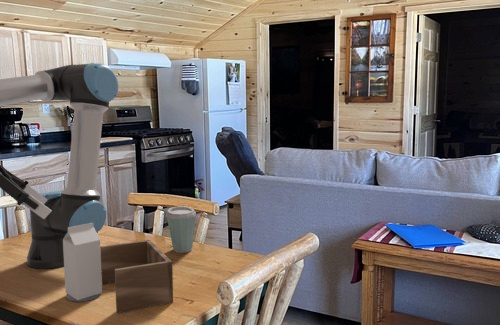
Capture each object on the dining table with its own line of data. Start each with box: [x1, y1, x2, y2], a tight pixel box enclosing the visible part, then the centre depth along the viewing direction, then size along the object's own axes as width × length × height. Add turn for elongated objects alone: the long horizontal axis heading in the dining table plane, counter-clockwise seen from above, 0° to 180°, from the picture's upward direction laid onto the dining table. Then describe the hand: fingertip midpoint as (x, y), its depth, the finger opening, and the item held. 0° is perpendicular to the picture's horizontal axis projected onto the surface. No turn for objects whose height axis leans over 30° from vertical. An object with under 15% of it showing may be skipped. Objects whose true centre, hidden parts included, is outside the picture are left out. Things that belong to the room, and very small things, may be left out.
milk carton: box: [63, 223, 103, 300], centre depth 127 cm, size 7×7×19 cm
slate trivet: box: [65, 293, 102, 303], centre depth 129 cm, size 9×9×1 cm
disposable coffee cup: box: [165, 205, 197, 254], centre depth 167 cm, size 11×11×15 cm
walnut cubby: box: [100, 239, 174, 314], centre depth 130 cm, size 22×14×11 cm, turn 27°
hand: (46, 209), depth 124 cm, fingers open, 13 cm apart
